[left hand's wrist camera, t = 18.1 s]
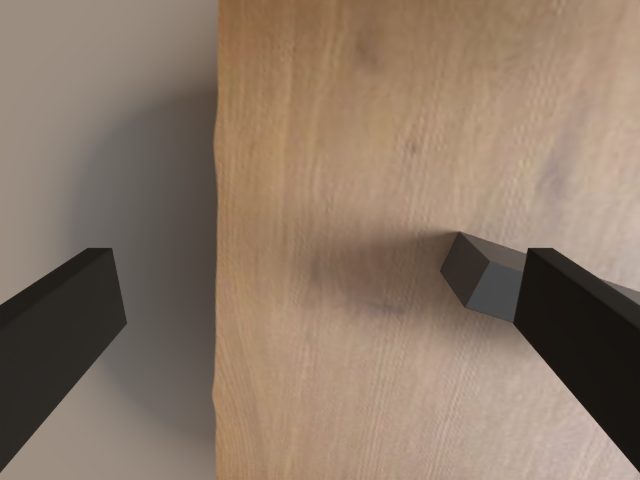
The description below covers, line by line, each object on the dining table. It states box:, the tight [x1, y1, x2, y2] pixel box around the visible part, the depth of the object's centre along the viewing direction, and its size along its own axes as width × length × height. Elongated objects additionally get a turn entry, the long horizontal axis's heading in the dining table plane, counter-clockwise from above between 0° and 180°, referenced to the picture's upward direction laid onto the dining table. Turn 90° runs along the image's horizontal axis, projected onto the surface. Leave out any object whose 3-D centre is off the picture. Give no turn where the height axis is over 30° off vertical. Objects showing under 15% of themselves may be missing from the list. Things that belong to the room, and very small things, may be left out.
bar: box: [440, 232, 640, 323], centre depth 42 cm, size 26×5×8 cm, turn 71°
